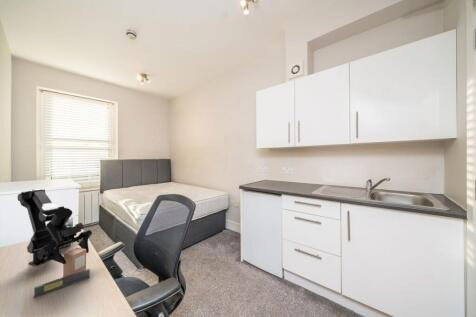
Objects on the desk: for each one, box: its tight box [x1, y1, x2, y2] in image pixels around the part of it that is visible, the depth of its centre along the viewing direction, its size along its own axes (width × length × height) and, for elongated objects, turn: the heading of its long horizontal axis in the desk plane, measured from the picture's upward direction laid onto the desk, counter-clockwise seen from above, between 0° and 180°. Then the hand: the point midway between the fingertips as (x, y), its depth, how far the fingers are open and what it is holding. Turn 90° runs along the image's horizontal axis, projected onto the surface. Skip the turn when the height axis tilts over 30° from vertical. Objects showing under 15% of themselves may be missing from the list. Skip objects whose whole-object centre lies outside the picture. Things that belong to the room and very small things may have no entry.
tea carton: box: [62, 247, 87, 277], centre depth 81 cm, size 6×6×10 cm
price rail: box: [33, 268, 91, 299], centre depth 73 cm, size 2×16×4 cm, turn 136°
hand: (77, 257), depth 80 cm, fingers open, 9 cm apart
